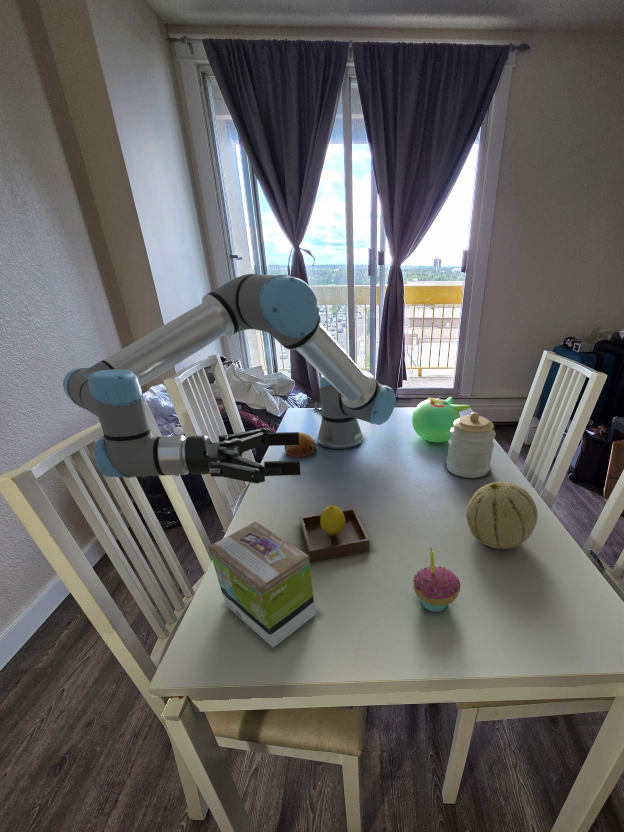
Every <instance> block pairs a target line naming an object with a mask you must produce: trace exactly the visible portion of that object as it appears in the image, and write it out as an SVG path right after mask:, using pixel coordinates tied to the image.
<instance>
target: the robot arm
mask: <svg viewBox="0 0 624 832" xmlns="http://www.w3.org/2000/svg"><path fill="white" fill-rule="evenodd" d="M318 303H319V301H318V297H317V295H316V293H315V292H314V290H313V289H312V287H311V285H309V284H308V283H307V282H306V281H304V280H302V279H300V278H298V277H295V276H291V275H288V274H260V273H259V274H258V273H247V274H243V275H239V276H237V277H235V278H233V279H231V280H229V281H227V282H226V283H223V284H222V285H219V286H218V287H216V288H215V289H213V290H211V291H209V292H208V293H206V294H205V295H203V296H202V298H201V303H199V304H198V305H197V306H194V307H193V308H191V309H189V310H188V311H186V312H184V313H182V314H180V315H179V316H177V317H175V318H174V319H172V320H170V321H168V322H167V323H165V324H163V325H162V326H160V327H158V328H156V329H154V330H152V331H151V332H149V333H148V334H146V335H144V336H143V337H141V338H139V339H137V340H136V341H134V342H132V343H130V344H128V345H127V346H125V347H123V348H121V349H120V350H118V351H117V352H115V353H113V354H111V355H109V356H107V357H106V358H104V359H102V360H101V361H98V362H97V363H95V364H93V365H91V366H90V367H78V368H77V367H76V368H73V369H71V370H70V371H68V372H67V373H66V374H65V376H64V378H63V381H62V387H63V391H64V393H65V395H66V396H67V398H68V399H69V400H70V401H72V402H73V403H74V405H76V406H78V407H79V408H80V409H84V410H85V411H88V412H90V413H91V414H92V415H94V416H96V417H97V418H98V421H99V424H100V426H101V430H102V433H103V437H101V438H98V439H97V440H96V441H95V444H94V446H93V451H92V452H93V455H94V458H93V461H94V464H95V467H96V469H97V470H98V472H99V473H100V474H102V475H103V476H105V477H108V478H126V479H130V478H141V477H159V476H161V477H163V476H165V477H166V476H174V477H179V476H186V475H188V474H189V473H190V474H191V475H193V476H195V475H210V477H215V478H216V477H218V478H226V479H232V480H237V481H242V482H246V483H251V484H256V485H257V484H260V483H265V482H266V477H278V476H279V477H281V476H301V475H302V473H301V460H299V459H297V460H271V461H270V460H269V461H266V460H265V461H264V462H263V463H259V462H257V461H254V460H252V459H249V458H246V457H243V456H242V455H244V454H243V453H245V452H248V451H250V450H254V449H257V448H259V447H263V446H265V445H268V447H275V446H276V447H277V446H285V445H299V431H287V432H286V431H284V432H268V428H266V427H262V428H257V429H251V430H247V431H246V430H245V431H241V432H236V433H232V434H231V433H230V434H220V435H218V437H217V438H218V441H217V442H212V441H211V439H210V437H209V436H207V435H189V436H187V437H186V436H185V435H165V436H164V435H163V436H153V434H152V432H151V427H150V423H149V418H148V414H147V411H146V405H145V400H144V397H143V396H144V393H143V389H142V387H143V386H144V385H146V384H148V383H150V382H151V381H153V380H155V379H156V378H157V377H159V376H161V375H162V374H164V373H166V372H167V371H168V370H170V369H172V368H174V367H175V366H177V365H178V364H180V363H182V362H184V361H185V360H187V359H188V358H190V357H191V356H193V355H195V354H196V353H198V352H199V351H201V350H202V349H204V348H206V347H207V346H209V345H210V344H212V343H213V342H215V341H216V340H218V339H220V338H222V337H223V336H224V337H227V338H228V337H229V338H230V337H233V336H234V335H235V334H237V333H239V332H242V331H246V330H247V331H248V330H256V331H260V332H265V333H267V334H268V335H271V337H273V338H274V339H275V340H276V341H277V342H278V343H279V344H280V345H281V346H282V347H284V348H285V349H286V350H289V351H294V350H296V351H297V352H298V353H299V354H300V355H301V356H302V357H303V358H304V359H305V360H306V361H307V362H308V363H309V364H310V365H311V366H312V367H313V368H314V369H315V370H316V371H317V372H318V373H319V374H320V377H319V387H318V391H319V399H320V400H319V401H320V408H318V407H317V405H318V403H317V401H315V402H313V403H314V404H313V409H314V410H315V411H317V412H320V413H321V423H320V426H319V430H318V434H317V440H318V444H319V445H320V446H322V447H323V448H326V449H331V450H346V449H352V448H354V447H355V448H356V447H358V446H359V445H360V444H361V443H362V442H363V432H362V429H361V426H360V424H359V421H358V420H360V421H363V422H366V423H370V424H371V425H378V426H379V425H380V426H381V425H383V424H384V423H386V422H387V421H388V420H389V419H390V418H391V416H392V414H393V412H394V409H395V406H396V393H395V391H394V389H393V388H392V387H390V386H388V385H383V384H381V383H380V382H379V381H378V380H377V379H376V378H375V377H374V375H372V374H371V373H370V372H367V371H362V370H361V369H360V367H359V366H358V364H356V363H355V362H354V360H353V359H352V358H351V356H349V355H348V353H347V352H346V351H345V350H344V349H343V348H342V347H341V346H340V344H339V343H338V342H337V341H336V340H335V338H333V336H332V335H331V333H329V331H328V330H327V329H326V328H325V327H324V325H322V324H321V321H322V320H321V319H322V317H321V312H320V307H318ZM319 409H320V410H319Z"/></svg>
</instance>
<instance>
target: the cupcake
mask: <svg viewBox="0 0 624 832" xmlns="http://www.w3.org/2000/svg"><path fill="white" fill-rule="evenodd" d="M429 558H430V561H429V562H430V566H428V567H427V566H426V567H423V568H421V569H420V570H418V571H417V572H416V574H414V575H413V579H412V582H413V590H414V593H415V595H416V596H417V597H418V598H419V599H420V603H421V605H422V606H423V607H424V608H425V610H428V611H430V612H433V613H434V612H437V613H438V612H441V611H444V610H445V609H446V607H447V606H448V605H450V604H452V603H453V602H455V601H456V599H457V598H458V597H459V593H460V592H461V581H460V579H459V578H458V577H459V576H457V575H456V574H455V573H454V572H452V570H450V569H448V568H447V567H445V566H444V567H443V566H436V565H435V551H433V547H430V551H429Z"/></svg>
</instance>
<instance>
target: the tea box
mask: <svg viewBox="0 0 624 832" xmlns="http://www.w3.org/2000/svg"><path fill="white" fill-rule="evenodd" d="M208 550H209V553H210V554H209V555H210V558H211V561H212V565H213V567H214V571H215V574H216V577H217V580H218V585H219V587H220V591H221V594H222V598H223V601H224V604H225V605H226V606H227V607H228V609H230V610H231V611H232V612H233V613H234V614H235V615H236V616H237V617H238V618H239V619H240V620H241V621H242V622H244V623H245V624H246V625H247V626H248V627H249V628H250V629H251V630H252V631H254V632H255V633H256V634H257V635H258V636H259V637H260V638H261V639H262V640H263V641H265V642H266V643H267V644H268V645H269V646H271V648H275V647H277V646H278V645H279V644H280V643H281V642H283V641H284V640H285V639H287V638H288V637H290V636H291V635H292V634H293V633H294V632H295V631H297V630H298V629H299V628H301V627H302V626H303V625H305V624H306V623H307V622H308V621H309V620H311V619H312V618H313V617H314V616H315V615H316V607H315V597H314V590H313V582H312V581H313V580H312V574H311V573H312V572H311V562H310V559H309V555H308V553H305V552H304V551H302V550H300V549H299V548H298V547H296V546H295V545H293V544H291V543H290V542H288V541H286V540H285V539H283V538H282V537H280V536H279V535H277V534H276V533H274V532H273V531H271V530H270V529H268V528H266V527H265V526H263V525H262V524H260V523H259V522H257V521H253V522H252V523H249V524H248V525H245V526H244V527H243V528H240V529H239V530H237V531H235V532H233V533H232V534H229V535H227V536H226V537H224V538H221V539H220V540H219V541H216V542H214V543H212V544H211V545H208Z"/></svg>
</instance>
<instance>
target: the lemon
mask: <svg viewBox="0 0 624 832" xmlns="http://www.w3.org/2000/svg"><path fill="white" fill-rule="evenodd" d="M342 510H343V509H341V508H340V507H339V506H336V505H328V506H326V507H325V508H324V509H323V510H322V512H321V513H320V514H321V518H320V524H321V527H322V529H323V531H324V532H325V533H326V534H328V535H332V536H335V535H338V534H340V533H341V532H342V531H343V529H344V526H345V517H344V514H343V511H342Z"/></svg>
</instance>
